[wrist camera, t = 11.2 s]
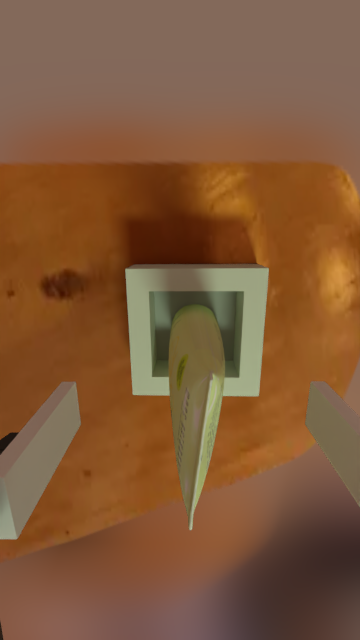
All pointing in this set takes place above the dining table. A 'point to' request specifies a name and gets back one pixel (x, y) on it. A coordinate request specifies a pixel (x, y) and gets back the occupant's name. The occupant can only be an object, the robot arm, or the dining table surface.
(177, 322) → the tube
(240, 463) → the dining table surface
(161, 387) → the socket block
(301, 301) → the dining table surface
